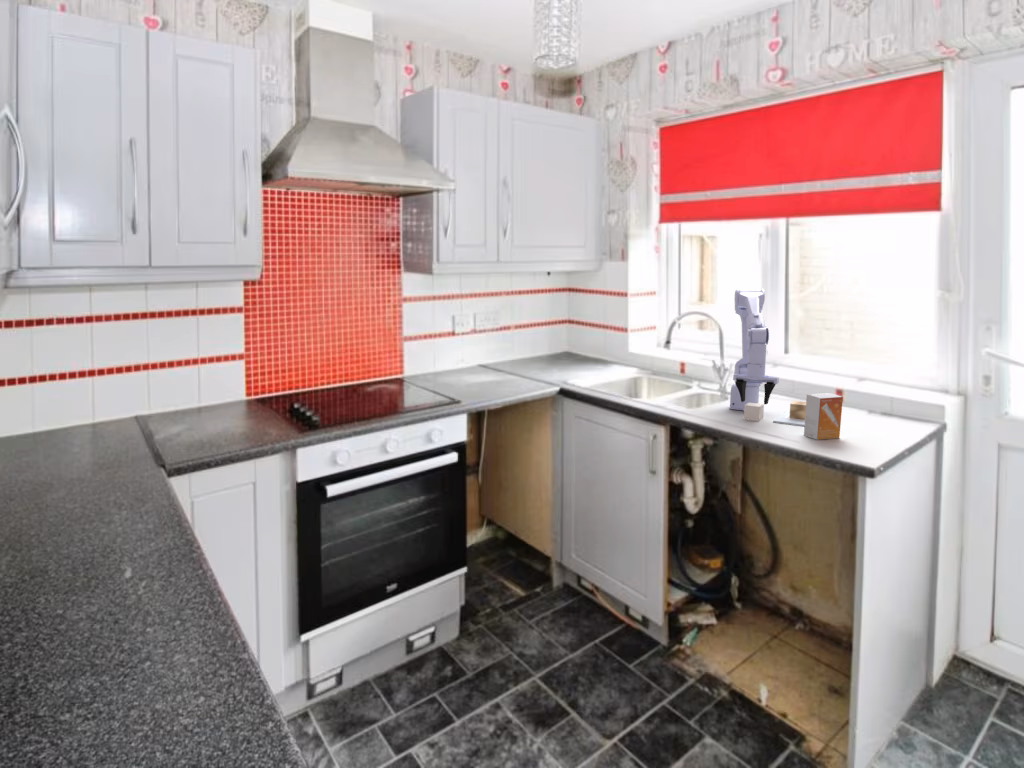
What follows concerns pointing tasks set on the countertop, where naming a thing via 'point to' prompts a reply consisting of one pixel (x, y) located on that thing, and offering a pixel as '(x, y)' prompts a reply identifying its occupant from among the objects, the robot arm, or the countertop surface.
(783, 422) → the board
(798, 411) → the base cube
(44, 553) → the countertop surface
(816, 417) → the small box
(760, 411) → the top cube
